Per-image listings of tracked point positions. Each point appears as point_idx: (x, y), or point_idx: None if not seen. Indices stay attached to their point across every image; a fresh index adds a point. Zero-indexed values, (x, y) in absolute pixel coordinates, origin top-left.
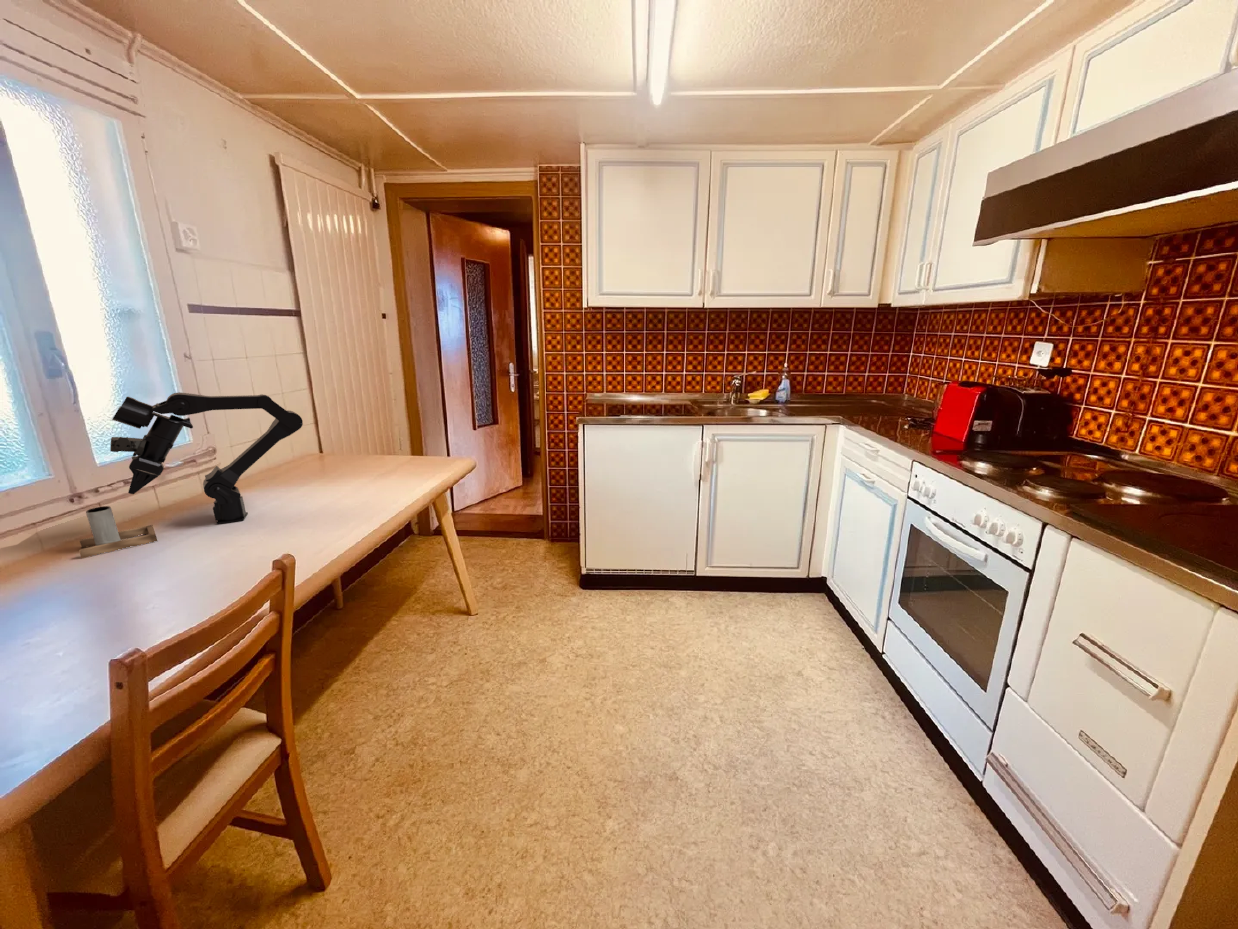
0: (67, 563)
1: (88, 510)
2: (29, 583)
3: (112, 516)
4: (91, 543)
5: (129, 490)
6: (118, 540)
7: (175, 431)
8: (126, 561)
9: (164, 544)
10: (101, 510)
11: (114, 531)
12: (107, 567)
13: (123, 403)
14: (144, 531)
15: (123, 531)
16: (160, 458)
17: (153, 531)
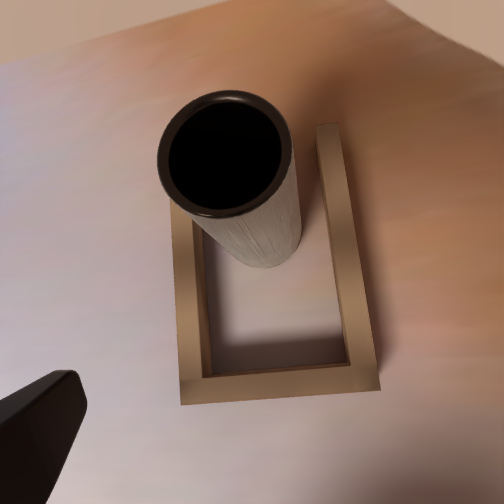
0: (159, 135)
1: (242, 99)
2: (46, 84)
3: (218, 234)
4: (319, 166)
5: (22, 392)
6: (242, 261)
7: None
8: (29, 303)
9: (128, 423)
10: (160, 176)
11: (224, 247)
12: (15, 254)
13: None
14: (346, 349)
15: (345, 269)
16: None
17: (239, 396)
